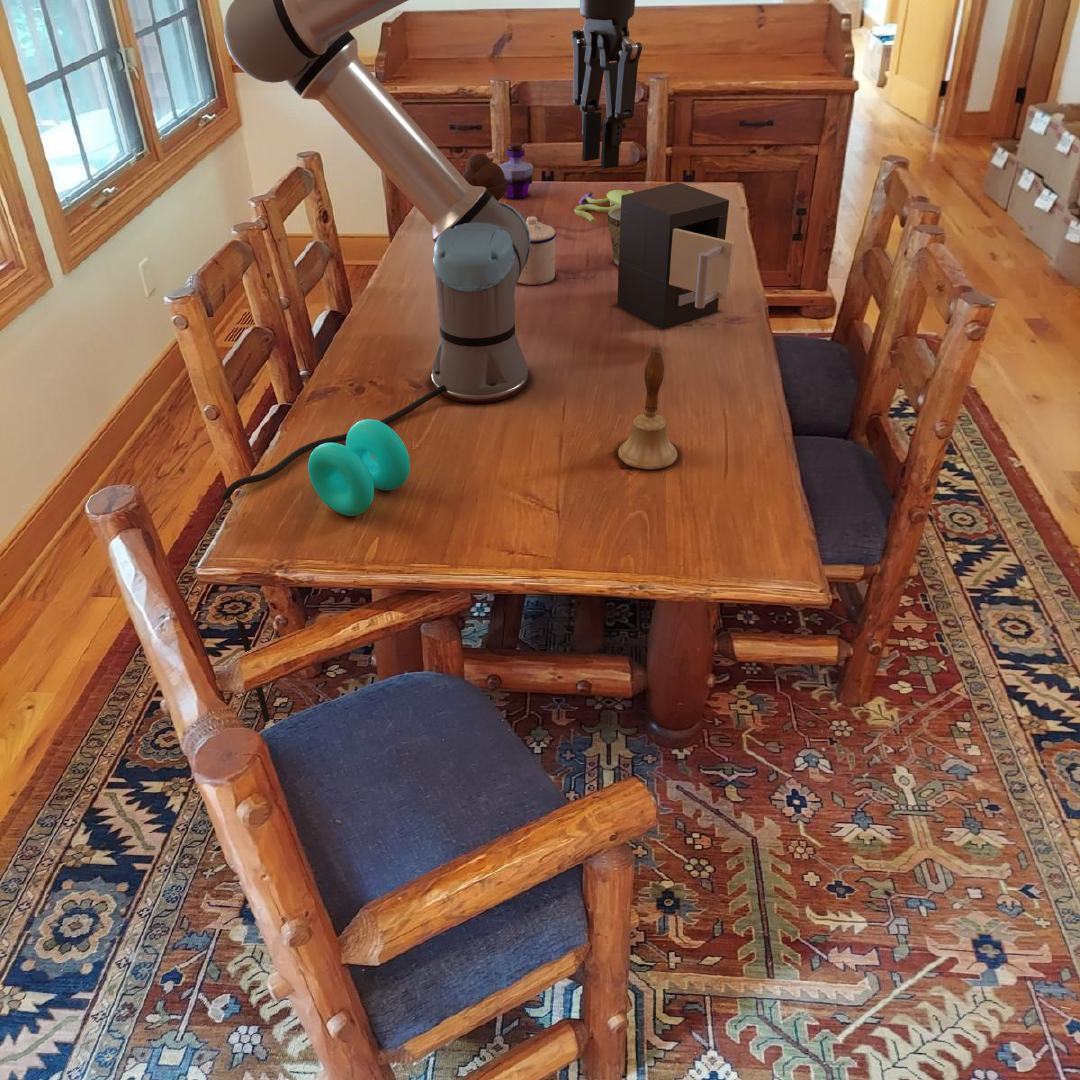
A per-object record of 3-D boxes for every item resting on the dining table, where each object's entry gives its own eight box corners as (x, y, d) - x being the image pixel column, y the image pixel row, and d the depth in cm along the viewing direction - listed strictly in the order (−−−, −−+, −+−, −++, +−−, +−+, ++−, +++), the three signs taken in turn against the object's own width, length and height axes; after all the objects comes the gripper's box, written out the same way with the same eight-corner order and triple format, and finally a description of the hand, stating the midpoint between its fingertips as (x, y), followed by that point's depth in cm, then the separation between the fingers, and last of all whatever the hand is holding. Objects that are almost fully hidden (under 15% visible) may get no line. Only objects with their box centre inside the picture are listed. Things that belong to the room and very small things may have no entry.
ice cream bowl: (453, 231, 210) (448, 160, 202) (470, 215, 219) (467, 146, 210) (498, 235, 208) (496, 163, 199) (514, 219, 216) (512, 149, 208)
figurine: (573, 239, 205) (573, 213, 202) (576, 200, 227) (577, 176, 224) (659, 240, 204) (661, 213, 201) (655, 201, 226) (656, 176, 222)
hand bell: (640, 433, 139) (646, 330, 130) (688, 452, 135) (698, 347, 125) (606, 457, 134) (610, 351, 124) (655, 477, 130) (663, 369, 120)
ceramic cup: (649, 274, 189) (652, 223, 183) (600, 268, 192) (601, 218, 186) (664, 251, 199) (667, 203, 193) (617, 246, 201) (619, 198, 195)
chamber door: (706, 311, 153) (712, 254, 148) (649, 295, 159) (652, 239, 153) (728, 298, 158) (734, 241, 152) (671, 283, 163) (675, 228, 158)
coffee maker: (719, 312, 173) (731, 200, 162) (664, 330, 168) (673, 215, 156) (670, 289, 182) (678, 181, 171) (616, 305, 177) (621, 195, 165)
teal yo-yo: (309, 505, 125) (297, 439, 119) (361, 471, 132) (352, 406, 126) (367, 530, 120) (357, 462, 114) (417, 493, 127) (411, 427, 121)
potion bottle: (541, 197, 229) (540, 144, 222) (510, 203, 226) (508, 150, 219) (522, 188, 235) (521, 136, 228) (492, 194, 232) (490, 142, 224)
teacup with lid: (559, 270, 191) (559, 211, 184) (552, 287, 184) (551, 226, 177) (500, 267, 193) (498, 208, 186) (491, 283, 186) (488, 223, 179)
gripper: (670, -11, 125) (655, 173, 139) (593, -25, 137) (586, 146, 151) (625, -7, 122) (614, 181, 136) (549, -22, 133) (547, 153, 147)
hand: (600, 162), depth 143 cm, fingers open, 4 cm apart
